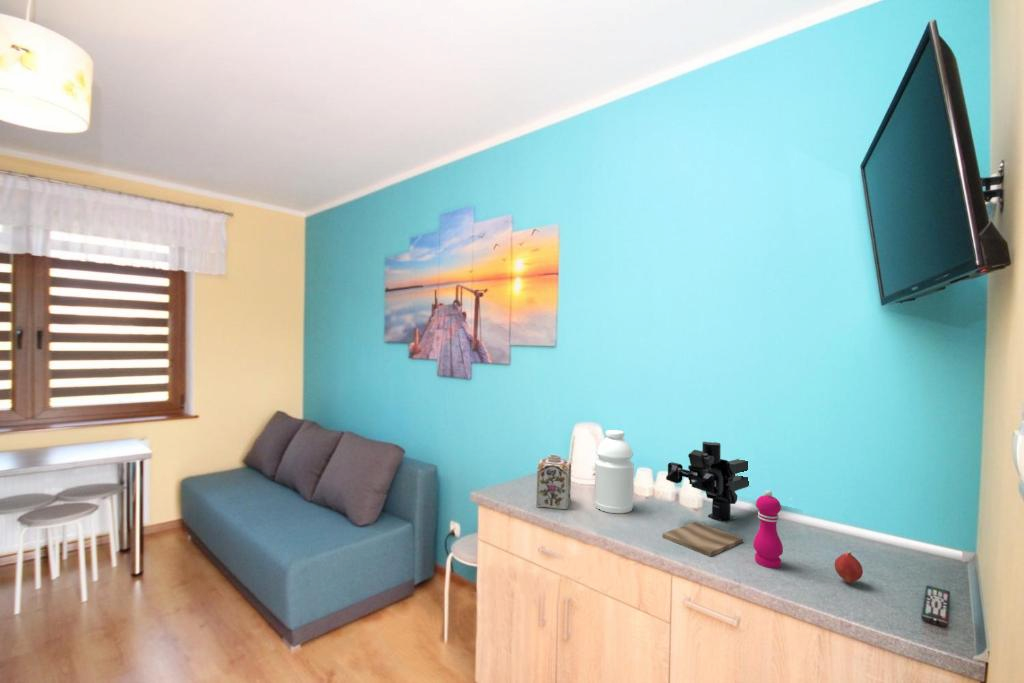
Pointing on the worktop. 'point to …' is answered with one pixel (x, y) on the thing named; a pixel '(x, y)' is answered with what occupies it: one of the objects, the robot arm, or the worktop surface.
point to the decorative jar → (553, 482)
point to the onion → (848, 567)
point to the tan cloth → (702, 538)
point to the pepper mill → (768, 532)
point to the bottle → (614, 474)
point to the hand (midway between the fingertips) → (679, 481)
